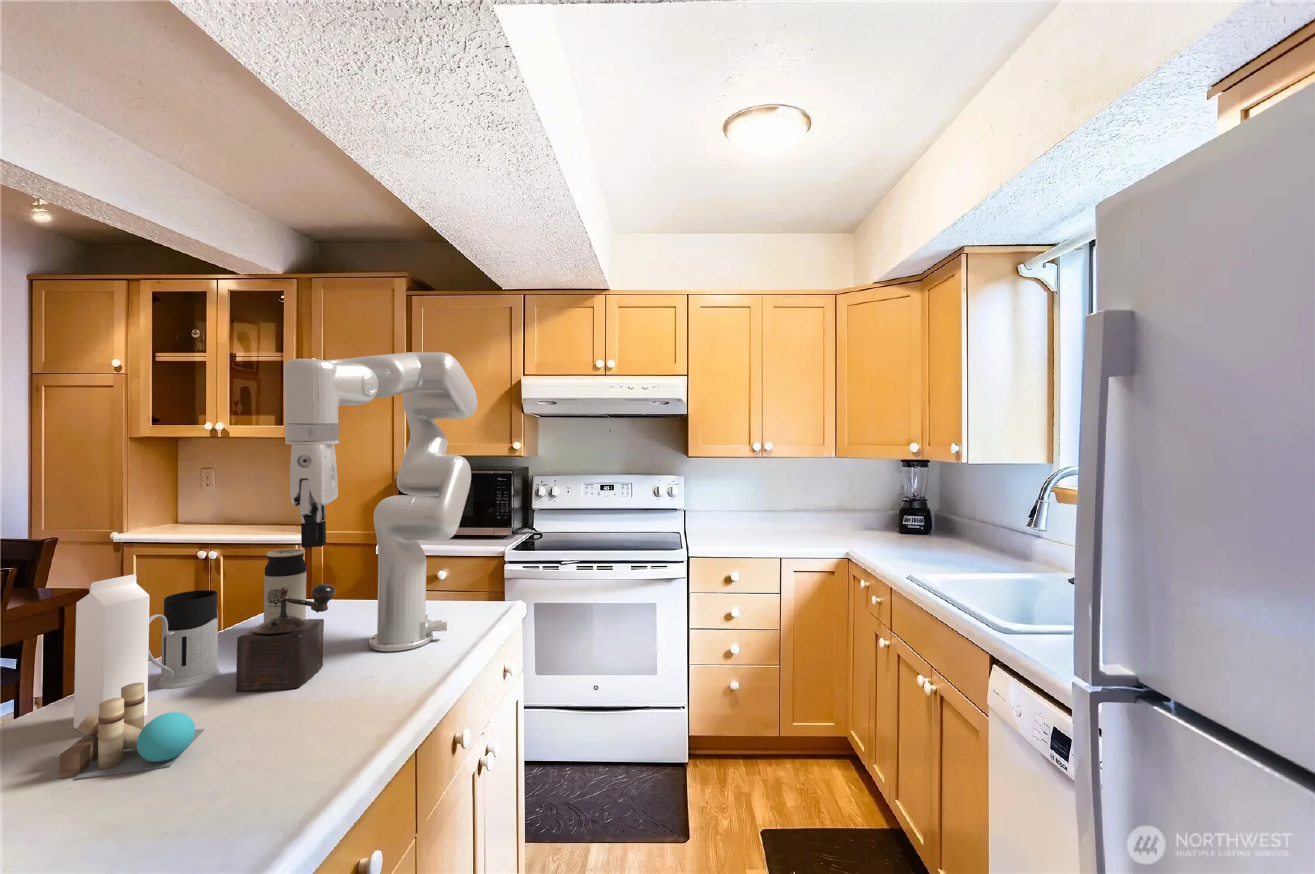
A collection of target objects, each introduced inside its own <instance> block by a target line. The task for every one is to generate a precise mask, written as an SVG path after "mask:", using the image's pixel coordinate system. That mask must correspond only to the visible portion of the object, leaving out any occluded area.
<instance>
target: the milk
mask: <svg viewBox="0 0 1315 874" xmlns="http://www.w3.org/2000/svg"><path fill="white" fill-rule="evenodd" d="M75 611H76V612H75V649H74V650H75V652H74V653H75V654H74V659H75V660H74V692H73V694H74V695H73V696H74V698H73V699H74V700H73V706H74V707H73V729H75V730H77V728H78V726H79V725H80V724H81V722H82V721H83V720H84V719H85V718H86V717H87V716H88V715H89V714H90V713H91V712H95V713H98V714H99V704H100V703H101V702H103V701H106V700H109V699H113V698H121V688H122V687H124V686H126V685H129V684H133V683H144V694H145V701H144V717H146V716H147V715H148V699H149V698H148V695H149V694H148V691H149V690H148V687H149V660H148V648H149V649H150V647H149V645H150V643H149V642H150V641H149V639H150V634H149V633H150V624H149V618H150V594H149V593H147V592H146V590H145V589H143V588H142V587H141V585H139V584H138V583H137V574H136V573H135V574H134V573H133V574H130V575H129V574H128V575H123V576H118V577H113V578H107V579H101V580H98V581H93V582H91V583H90V591H89V593H88V594H86V595H85V596H84V597H83V598H81V599H80V600H78V601H76V608H75Z"/></svg>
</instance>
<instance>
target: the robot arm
mask: <svg viewBox="0 0 1315 874" xmlns="http://www.w3.org/2000/svg"><path fill="white" fill-rule="evenodd" d="M466 373H467V372H465V370H464V369H463V367H462V365H461V364H460V362H458V360H457V359H456V358H455V357H454V356H452V355H451V354H450V353H448V352H442V351H440V352H439V351H437V352H436V351H432V352H429V351H428V352H426V351H425V352H424V351H422V352H420V351H414V352H413V351H411V352H410V351H409V352H397V353H388V354H380V355H379V354H378V355H377V354H376V355H366V356H358V357H351V358H349V357H348V358H341V359H340V358H338V359H327V360H324V359H318V358H317V359H316V358H293V359H290V360H288V361H287V362H286V363H285V364H284V372H283V377H284V378H283V379H284V380H283V381H284V384H283V385H284V423H285V424H284V429H285V430H284V438H285V439H284V440H285V441H284V443H285V445H288V446H290V445H291V449H290V466H289V467H290V468H289V472H290V475H289V482H290V483H289V491H290V492H289V493H290V495H289V496H290V502H291V504H292V505H293V506H295V507H299V515H300V522H301V523H300V527H301V529H300V531H301V533H300V534H301V535H300V536H301V541H300V542H301V544H300V545H301V547H302V549H303V548H304V549H305V548H319V547H322V548H323V546H324V545H326V543H327V521H326V517H327V516H326V514H327V511H326V510H327V505H329V504H330V503H332V502H333V501H334V500H336V499H337V498H338V496H339V488H338V487H339V485H338V470H337V469H338V468H337V467H338V465H337V455H336V448H335V445H338V444H340V439H339V438H340V437H339V436H340V435H339V433H340V430H339V429H340V427H339V426H340V425H339V406H362V405H365V404H368V403H369V402H371V401H372V400H374V399H379V398H382V399H383V398H389V397H391V398H392V397H394V396H395V397H396V396H399V395H403V397H402V405H403V406H402V407H403V409H404V413H405V417H406V421H407V424H408V428H409V433H410V434H409V441H408V444H407V447H406V449H405V452H404V455H403V458H402V461H401V463H400V466H399V468H398V471H397V475H396V486H397V489H398V490H399V492H401V493H403V494H399V495H396V494H395V495H391V496H388V497H385V498H383V499H382V500H381V501H380V502H378V504H377V505H376V507H375V508H374V511H373V525H374V530H375V531H374V532H375V535H376V542H377V550H378V551H377V553H378V555H377V556H378V557H377V558H378V559H377V560H378V562H377V563H378V565H377V566H378V567H377V569H378V570H377V573H378V574H377V581H378V582H377V618H376V619H377V622H376V623H377V625H376V626H377V627H376V629H377V631H376V633H375V634H374V635H371V637H369V639H368V646H369V648H370V649H372V650H374V651H379V652H401V651H406V650H411V649H417V648H419V647H423V646H425V645H427V644H428V643H430V642H431V641H432V640H433V638H434V637H433V636H434V633H433V632H447V631H448V621H442V620H443V619H439V620H438V619H437V620H431V619H429V614H426V609H427V608H426V606H427V604H426V603H427V602H426V601H427V558H426V554H425V551H424V549H423V547H422V546H421V544H420V543H419V541H446V540H449V539H451V538H453V537H454V536H455V534H456V533H457V532H458V529H459V527H460V523H461V520H462V517H463V513H464V509H465V505H466V502H467V499H468V495H469V492H470V488H471V483H472V482H471V481H472V471H471V470H472V469H471V466H470V463H469V462H468V460H467V459H466V458H465V457H464V456H461V455H457V454H446V453H447V450H448V446H449V442H448V439H447V436H446V434H445V432H444V431H443V430H442V428H440V426H439V425H438V423H437V422H436V420H438V419H439V420H441V419H442V420H445V419H446V420H463V419H469V418H471V417H472V416H473V415H474V414H475V413H476V411H477V409H478V396H477V393H476V390H475V388H474V386H473V383H471V380H470V378H469V377H468V376H467V374H466ZM405 494H406V495H405Z"/></svg>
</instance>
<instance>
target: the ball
mask: <svg viewBox="0 0 1315 874" xmlns="http://www.w3.org/2000/svg"><path fill="white" fill-rule="evenodd" d="M195 730H196V726H195V722H194V721H193V719H192V718H191V717H190V716H189V715H187V714H186V713H183V712H176V711H174V712H173V711H171V712H165V713H163V714H160V715H158V716H156V717H154V718H153V719H151V720H150V721H149V722H147V723H146V724H145V725H144V728H143V729H142V730H141V732H140V734H139V736H138V739H137V750H138V753H139V754H140V756H141V757H142V758H144V759H145V760H148V761H151V762H163V761H167V760H170V759H173V758H175V757H176V756H178V755H180V754H181V753H182V752H183V751H184V752H185V751H186V750H187V749H188V748H189V747H188V746H189V745H190V743H191V742H192V740H193V738H194V734H195ZM192 743H193V742H192ZM192 743H191V744H192ZM190 746H191V745H190ZM187 747H188V748H187ZM184 752H183V753H184ZM183 753H182V754H183ZM182 754H181V755H182ZM181 755H180V756H181Z"/></svg>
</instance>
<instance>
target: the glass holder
mask: <svg viewBox="0 0 1315 874" xmlns="http://www.w3.org/2000/svg"><path fill="white" fill-rule="evenodd" d="M156 618H159V619H160V620H161V622H162V627H161V662H159V661H158V660H156V659H155V657H154V656H153V655H152V653H151V651H150V647H149V648H148V662H151V663H152V664H153V665H155V666H156V667H159V668H160V669H161V671H160V673H161V675H160V678H159V680H158V682H157V686H158V687H159V688H161V689H171V690H172V689H181V688H189V687H193V686H197V685H200V684H204V683H207V682H210V681H211V680H213V679H215V678H217V677H218V676H219V675H220V674H221V671H220V668H219V666H218V644H219V643H218V638H219V636H218V633H219V632H218V629H219V612H218V591H216V590H212V589H203V590H191V591H185V592H178V593H174V594H170V595H168V596H165V597H164V598H163V614H154V615H151V616H149V625H150V624H151V622H152V621H153V620H155V619H156Z"/></svg>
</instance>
